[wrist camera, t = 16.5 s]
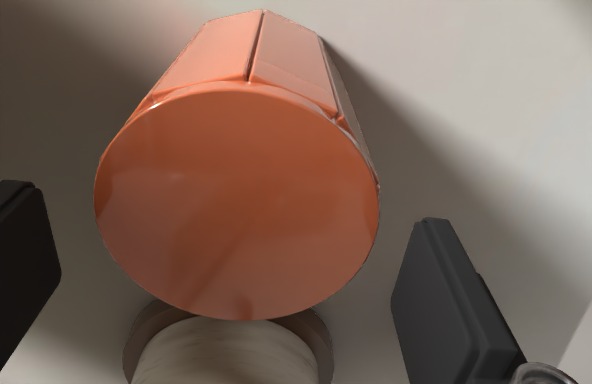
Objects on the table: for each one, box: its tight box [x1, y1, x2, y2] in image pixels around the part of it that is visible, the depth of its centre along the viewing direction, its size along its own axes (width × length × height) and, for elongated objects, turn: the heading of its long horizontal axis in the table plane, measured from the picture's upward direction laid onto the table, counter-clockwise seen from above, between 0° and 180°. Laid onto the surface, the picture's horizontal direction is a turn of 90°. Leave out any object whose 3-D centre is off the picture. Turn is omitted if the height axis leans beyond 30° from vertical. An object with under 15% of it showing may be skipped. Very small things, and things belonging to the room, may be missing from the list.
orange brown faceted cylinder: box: [93, 9, 381, 321], centre depth 15 cm, size 7×8×9 cm
